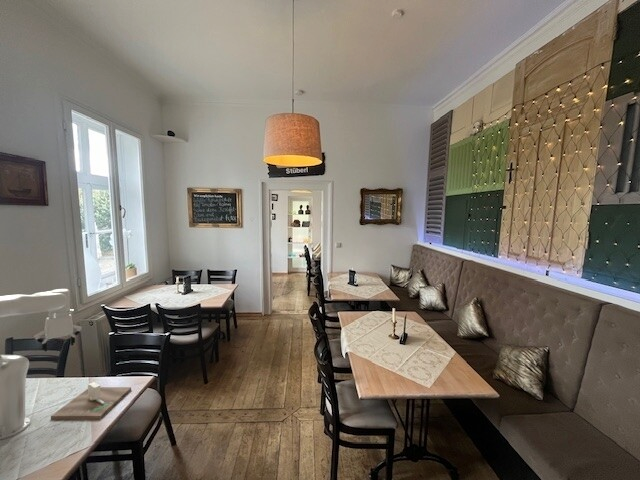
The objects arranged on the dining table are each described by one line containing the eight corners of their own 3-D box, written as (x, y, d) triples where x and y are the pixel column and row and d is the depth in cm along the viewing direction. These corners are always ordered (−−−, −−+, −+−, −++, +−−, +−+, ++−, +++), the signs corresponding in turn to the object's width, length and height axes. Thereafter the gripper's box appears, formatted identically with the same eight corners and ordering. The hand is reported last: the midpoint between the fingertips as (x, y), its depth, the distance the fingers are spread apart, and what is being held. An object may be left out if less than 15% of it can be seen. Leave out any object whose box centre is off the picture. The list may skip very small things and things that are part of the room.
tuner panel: (100, 419, 121) (100, 415, 121) (50, 419, 120) (50, 415, 120) (131, 390, 143) (131, 387, 143) (89, 389, 142) (89, 386, 142)
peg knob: (87, 398, 132) (87, 384, 132) (94, 394, 135) (94, 381, 135) (99, 406, 127) (99, 391, 127) (107, 402, 130) (107, 388, 130)
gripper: (80, 308, 143) (80, 340, 144) (33, 315, 130) (33, 350, 131) (83, 312, 138) (83, 344, 139) (34, 319, 125) (34, 355, 126)
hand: (59, 347), depth 135 cm, fingers open, 9 cm apart
